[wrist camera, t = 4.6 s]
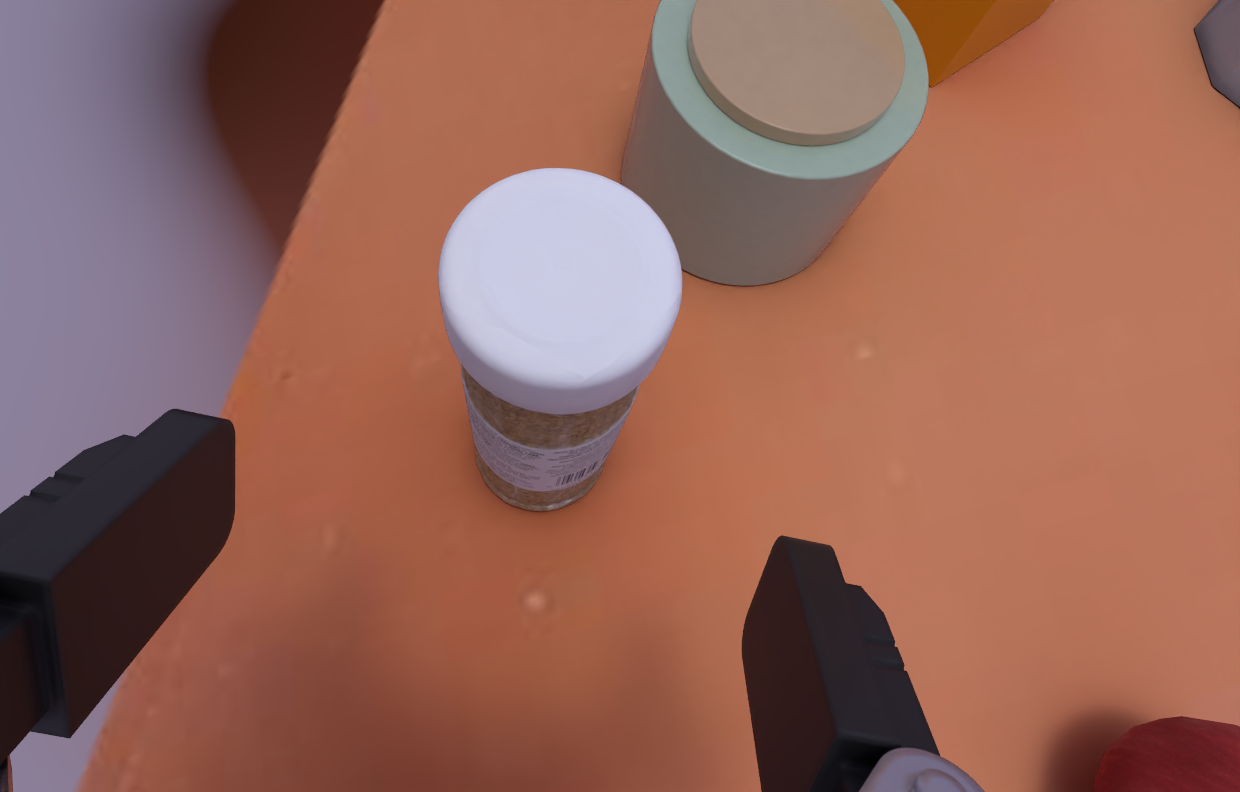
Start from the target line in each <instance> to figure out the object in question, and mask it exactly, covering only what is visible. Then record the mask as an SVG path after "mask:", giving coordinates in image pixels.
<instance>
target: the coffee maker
mask: <svg viewBox="0 0 1240 792" xmlns="http://www.w3.org/2000/svg"><path fill="white" fill-rule="evenodd" d="M1194 29H1195V32H1196V35H1197V39H1198V42H1199V45H1200V48H1201V51H1202V54H1203V57H1204V60H1205V64H1206V67H1207V70H1208V73H1209V76H1210V79H1211V82H1212V86H1213V87H1214V88H1216V89H1217V90H1218V91H1220V92H1221V93H1222V94H1223V95H1225V96H1226V97H1227V98H1229V99H1230V100H1231V101H1233V102H1234V103H1235V104H1236V105H1238V106H1239V107H1240V0H1219V1H1218V2H1217V3H1216V5H1215V6H1214V7H1213V8H1212V9H1211V10H1210V11H1209V12H1208V14H1207V15H1206V16H1205V17H1204V18H1203V19H1202V20H1201V22H1200V23H1199V24H1198V25H1197V26H1196V27H1195V28H1194Z"/></svg>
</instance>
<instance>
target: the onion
mask: <svg viewBox="0 0 1240 792" xmlns="http://www.w3.org/2000/svg"><path fill="white" fill-rule="evenodd" d="M1093 792H1240V727H1239V726H1237V725H1233V724H1226V723H1220V722H1214V721H1208V720H1201V719H1195V718H1189V717H1183V716H1180V717H1172V718H1163V719H1158V720H1155V721H1152V722H1148V723H1145V724H1142V725H1138V726H1135V727H1133V728H1132V729H1130V730H1129V731H1128V732H1127V733H1126V734H1124V735H1123V736H1122V737H1121V738H1120V739H1119V740H1118V741H1117V742H1116V743H1115V744H1114V745H1113V746H1112V747H1111V748H1110V749H1108V750H1107V751H1106V752H1105V753H1104V754H1103V757H1102V760H1101V762H1100V765H1099V768H1098V770H1097V773H1096V776H1095V778H1094V781H1093Z"/></svg>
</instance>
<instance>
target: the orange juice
mask: <svg viewBox="0 0 1240 792" xmlns="http://www.w3.org/2000/svg"><path fill="white" fill-rule="evenodd" d="M893 1H894V2H895V3H896V5H897V6H898V7H899V8H900V9H901V11H902V12H903V13H904V15H905V16H906V17H907V19H908V20H909V22H910V24H911V25H912V27H913V29H914V31H915V32H916V34H917V36H918V39H919V41H920V43H921V46H922V48H923V52H924V55H925V59H926V63H927V70H928V78H929V82H928V84H929V85H930V86H931V87H933V86H935V85H936V84H938V83H939V82H941V81H943V80H944V79H946V78H947V77H949V76H950V75H952V74H953V73H955V72H956V71H958V70H959V69H961V68H963V67H964V66H966V65H967V64H969V63H970V62H972V61H973V60H975V59H976V58H978V57H980V56H981V55H983V54H984V53H986V52H987V51H989V50H990V49H992V48H993V47H995V46H996V45H998V44H1000V43H1001V42H1003V41H1004V40H1006V39H1007V38H1009V37H1010V36H1012V35H1013V34H1015V33H1016V32H1018V31H1020V30H1021V29H1023V28H1024V27H1026V26H1027V25H1029V24H1030V23H1032V22H1033V21H1035V20H1037V19H1038V18H1039V17H1040V16H1041V15H1042V14H1043V12H1044V11H1045V10H1046V9H1047V8H1048V6H1049V5H1050V4H1051V3H1052V2H1053V0H893Z"/></svg>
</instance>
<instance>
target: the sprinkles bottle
mask: <svg viewBox="0 0 1240 792" xmlns="http://www.w3.org/2000/svg"><path fill="white" fill-rule="evenodd" d="M438 278H439V293H440V300H441V306H442V313H443V318H444V323H445V327H446V331H447V335H448V338H449V341H450V344H451V346H452V348H453V350H454V352H455V354H456V356H457V358H458V359H459V361H460V363H461V372H462V381H463V386H464V391H465V397H466V402H467V408H468V413H469V418H470V423H471V429H472V434H473V438H474V441H475V456H476V464H477V466H478V469H479V470H480V472H481V474H482V477H483V479H484V481H485V482H486V484H487V485H488V486H489V488H490V489H491V490H492V492H493V493H495V494H496V495H497V496H499V497H500V498H501V499H502V500H504V501H505V502H506V503H508V504H511V505H514V506H516V507H519V508H521V509H525V510H531V511H550V510H556V509H560V508H563V507H564V506H566V505H569V504H572V503H574V502H575V501H576V500H577V499H579V498H581V497H582V496H584V495H585V494H586V493H587V492H588V491H589V490H590V489H591V488H592V487H593V485H594V484H595V482H596V481H597V480H598V478H599V476H600V475H601V473H602V470H603V467H604V463H605V459H606V458H607V456H608V455H609V453H610V451H611V449H612V447H613V445H614V443H615V441H616V438H617V436H618V434H619V432H620V430H621V428H622V426H623V424H624V422H625V420H626V418H627V416H628V414H629V411H630V409H631V407H632V405H633V403H634V400H635V398H636V395H637V392H638V389H639V385H640V383H641V382H642V381H643V380H644V379H645V378H646V377H647V376H648V375H649V374H650V372H651V371H652V370H653V368H654V367H655V365H656V364H657V362H658V360H659V358H660V356H661V354H662V352H663V350H664V348H665V346H666V343H667V341H668V339H669V337H670V334H671V331H672V329H673V326H674V323H675V321H676V318H677V315H678V312H679V308H680V303H681V298H682V271H681V264H680V259H679V255H678V252H677V250H676V247H675V244H674V242H673V240H672V237H671V235H670V233H669V232H668V230H667V228H666V227H665V225H664V223H663V222H662V221H661V219H660V218H659V217H658V215H657V214H656V213H655V212H654V211H653V210H652V208H651V207H650V206H649V205H648V204H647V203H646V202H644V201H643V200H642V199H641V198H640V197H639V196H637V195H636V194H635V193H634V192H632V191H631V190H629V189H627V188H626V187H624V186H622V185H621V184H619V183H617V182H615V181H613V180H610V179H608V178H606V177H603V176H601V175H598V174H594V173H591V172H587V171H582V170H576V169H567V168H544V169H536V170H530V171H526V172H523V173H519V174H516V175H512V176H510V177H508V178H505V179H503V180H501V181H499V182H496V183H495V184H493V185H491V186H490V187H488V188H487V189H485V190H484V191H482V192H481V193H480V194H478V195H477V196H476V197H475V198H474V199H473V200H471V201H470V202H469V203H468V204H467V205H466V207H465V208H464V209H463V210H462V211H461V213H460V214H459V215H458V217H457V218H456V220H455V221H454V223H453V224H452V226H451V228H450V230H449V232H448V234H447V236H446V239H445V242H444V245H443V248H442V251H441V255H440V262H439V273H438Z"/></svg>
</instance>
